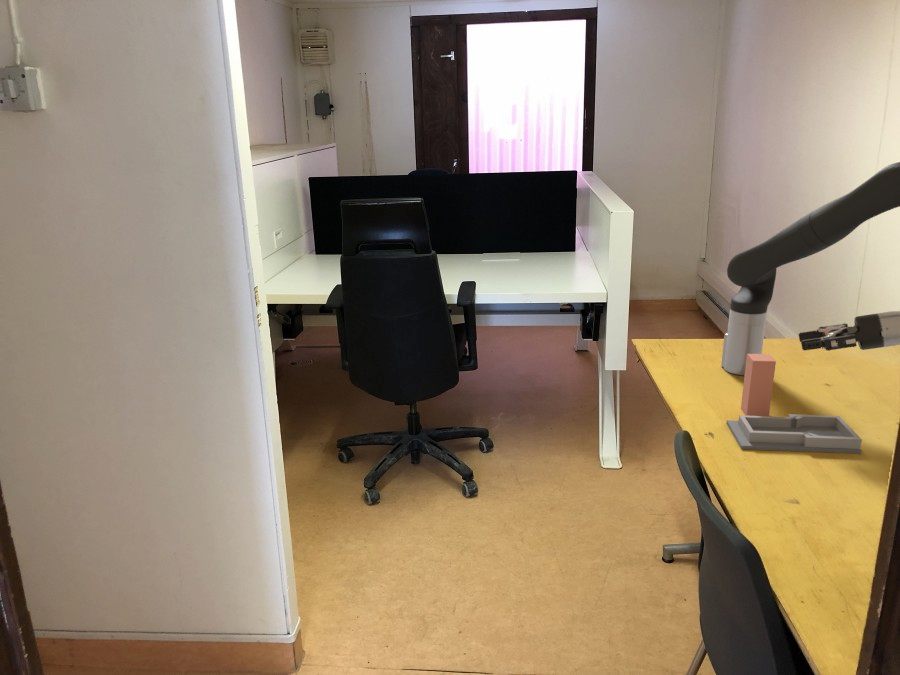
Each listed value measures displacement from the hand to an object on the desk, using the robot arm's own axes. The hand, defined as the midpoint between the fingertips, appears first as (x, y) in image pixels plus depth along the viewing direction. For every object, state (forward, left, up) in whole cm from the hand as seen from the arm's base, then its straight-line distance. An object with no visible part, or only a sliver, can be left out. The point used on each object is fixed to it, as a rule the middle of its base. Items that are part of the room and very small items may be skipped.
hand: (800, 341), depth 165 cm
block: (-4, -7, -18) cm, 20 cm away
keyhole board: (+9, -10, -18) cm, 22 cm away
